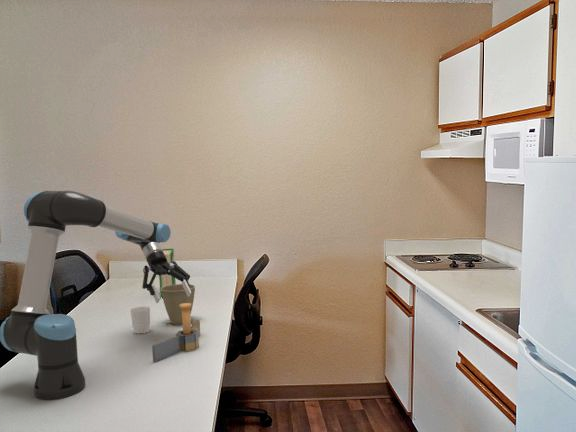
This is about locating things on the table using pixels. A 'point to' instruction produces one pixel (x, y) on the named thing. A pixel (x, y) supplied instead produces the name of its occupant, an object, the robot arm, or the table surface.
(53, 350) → the robot arm
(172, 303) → the plant pot
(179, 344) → the hinge leaf
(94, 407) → the table surface
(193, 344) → the hinge leaf
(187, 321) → the hinge pin
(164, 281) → the hardback book
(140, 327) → the white cup
